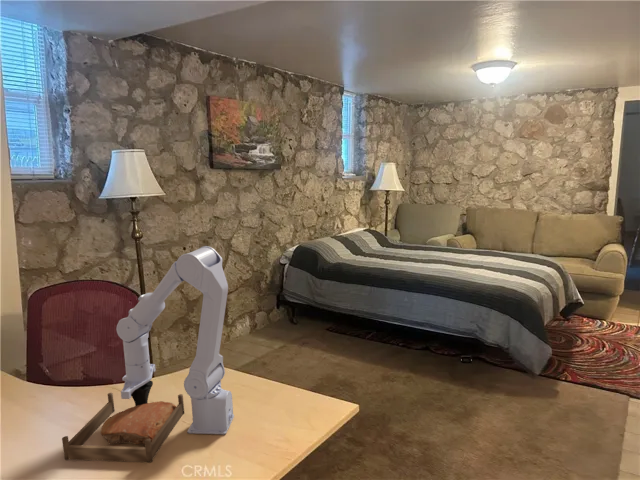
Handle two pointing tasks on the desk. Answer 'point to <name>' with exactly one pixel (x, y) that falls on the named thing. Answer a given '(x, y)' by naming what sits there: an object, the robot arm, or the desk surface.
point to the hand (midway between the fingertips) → (141, 410)
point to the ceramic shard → (137, 423)
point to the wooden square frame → (114, 453)
